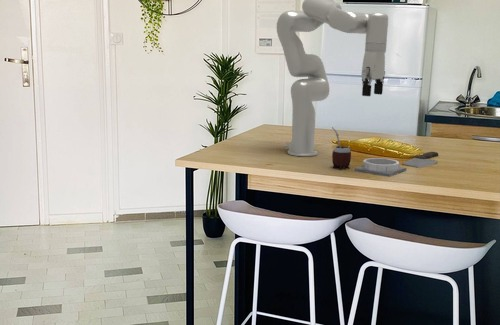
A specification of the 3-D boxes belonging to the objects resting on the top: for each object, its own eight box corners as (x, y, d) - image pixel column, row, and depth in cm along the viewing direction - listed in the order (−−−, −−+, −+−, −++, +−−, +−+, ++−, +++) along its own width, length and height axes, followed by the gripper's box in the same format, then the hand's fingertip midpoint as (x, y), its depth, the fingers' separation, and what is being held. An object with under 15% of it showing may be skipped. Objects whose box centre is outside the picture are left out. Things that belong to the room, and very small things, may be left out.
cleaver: (426, 155, 259) (426, 150, 258) (448, 158, 253) (449, 153, 253) (399, 167, 235) (400, 161, 235) (424, 170, 230) (424, 165, 229)
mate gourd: (349, 170, 225) (352, 130, 222) (328, 169, 226) (330, 129, 223) (350, 166, 232) (352, 127, 229) (330, 165, 233) (331, 127, 230)
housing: (354, 170, 224) (355, 161, 223) (372, 165, 235) (373, 156, 234) (389, 176, 215) (389, 167, 215) (406, 170, 226) (406, 161, 225)
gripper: (376, 47, 228) (373, 92, 231) (355, 48, 214) (352, 95, 218) (395, 48, 223) (391, 94, 227) (374, 48, 210) (371, 97, 214)
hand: (372, 95), depth 223 cm, fingers open, 9 cm apart
